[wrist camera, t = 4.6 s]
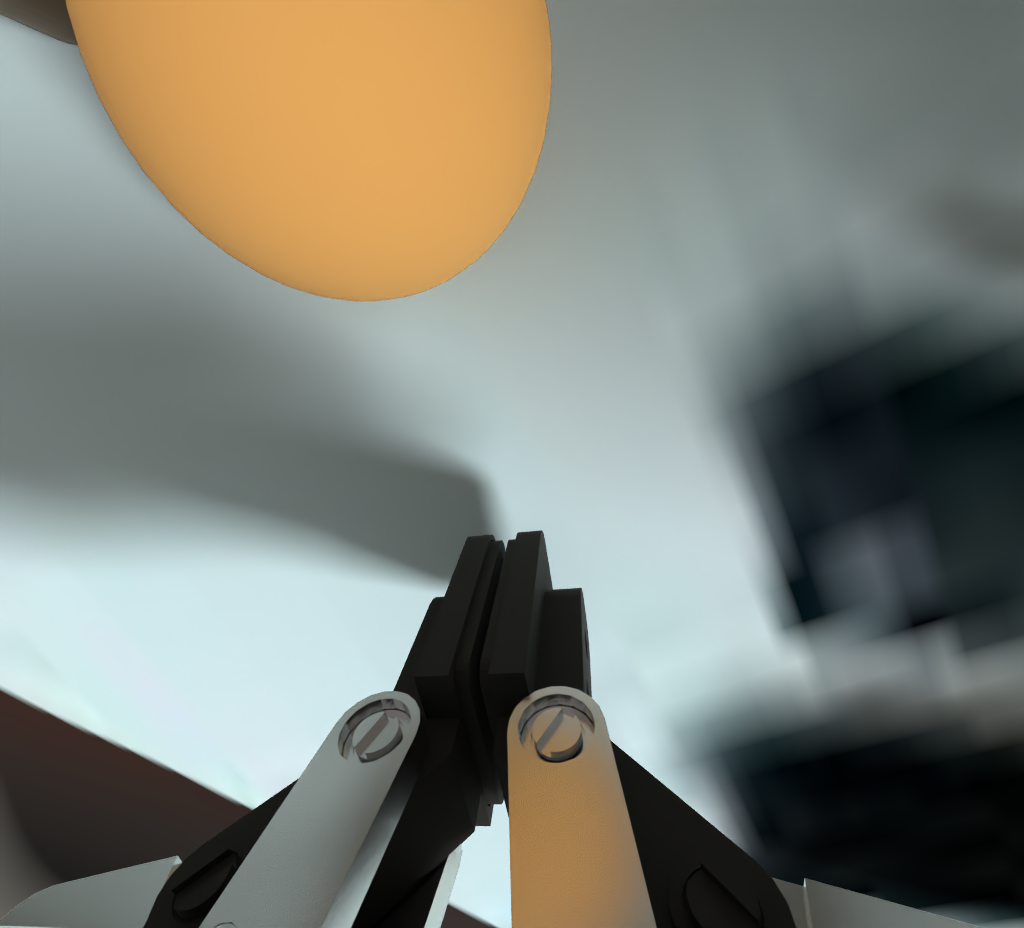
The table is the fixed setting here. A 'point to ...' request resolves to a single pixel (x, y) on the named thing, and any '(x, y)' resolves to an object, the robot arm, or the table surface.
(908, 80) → the table surface
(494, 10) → the ball
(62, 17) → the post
